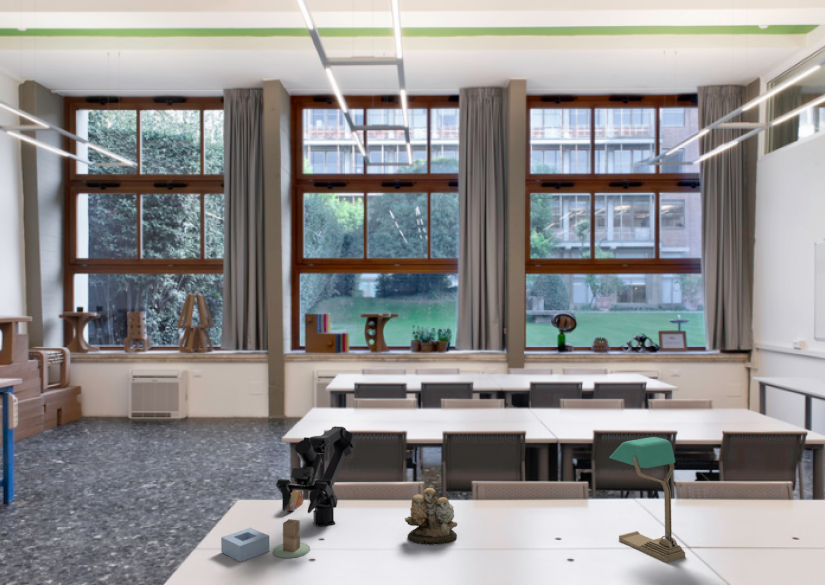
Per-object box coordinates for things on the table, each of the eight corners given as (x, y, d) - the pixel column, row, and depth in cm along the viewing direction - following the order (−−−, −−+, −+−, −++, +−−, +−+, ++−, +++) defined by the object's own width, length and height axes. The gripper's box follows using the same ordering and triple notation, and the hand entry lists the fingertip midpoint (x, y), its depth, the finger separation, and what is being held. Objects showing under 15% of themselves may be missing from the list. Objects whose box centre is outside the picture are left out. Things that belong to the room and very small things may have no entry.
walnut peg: (289, 546, 204) (288, 519, 204) (299, 547, 203) (299, 520, 203) (283, 551, 201) (282, 523, 201) (294, 552, 199) (293, 524, 199)
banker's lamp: (658, 565, 188) (656, 450, 188) (607, 541, 207) (606, 437, 207) (693, 554, 195) (691, 444, 196) (641, 532, 214) (639, 432, 214)
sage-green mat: (304, 540, 210) (304, 539, 210) (314, 553, 199) (314, 552, 199) (269, 547, 205) (269, 546, 205) (278, 561, 194) (278, 559, 194)
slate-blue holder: (250, 542, 209) (250, 527, 209) (269, 550, 202) (269, 535, 202) (221, 552, 201) (221, 537, 201) (240, 561, 194) (240, 546, 194)
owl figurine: (406, 546, 204) (405, 495, 205) (403, 533, 216) (402, 484, 217) (459, 543, 206) (458, 492, 206) (454, 530, 218) (453, 482, 218)
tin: (290, 514, 236) (290, 492, 236) (283, 513, 237) (282, 491, 237) (305, 501, 251) (305, 480, 251) (298, 501, 252) (297, 480, 252)
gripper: (278, 455, 213) (261, 497, 202) (327, 459, 208) (313, 502, 197) (289, 472, 220) (274, 513, 210) (337, 475, 215) (324, 518, 204)
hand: (295, 511), depth 205 cm, fingers open, 9 cm apart
